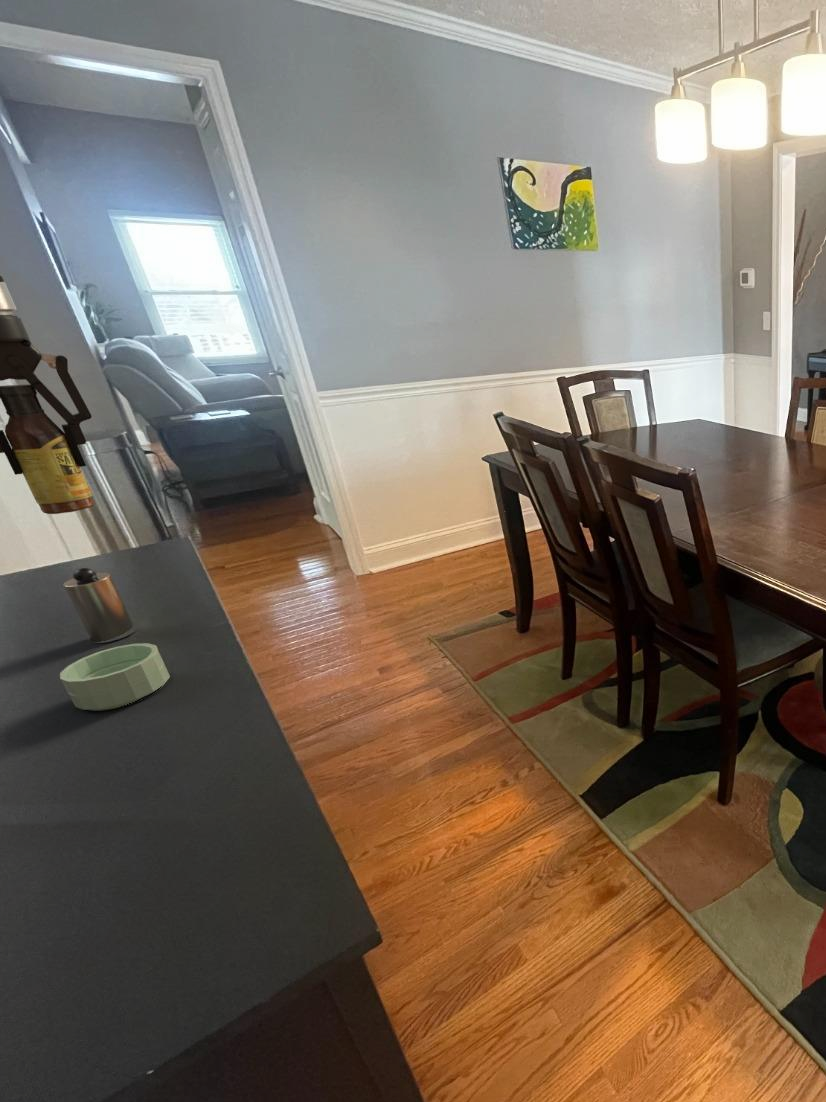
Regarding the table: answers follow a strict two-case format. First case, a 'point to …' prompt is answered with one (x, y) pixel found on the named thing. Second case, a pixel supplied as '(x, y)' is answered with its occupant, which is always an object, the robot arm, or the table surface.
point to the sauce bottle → (43, 453)
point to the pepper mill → (98, 604)
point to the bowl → (115, 676)
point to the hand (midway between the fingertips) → (51, 468)
